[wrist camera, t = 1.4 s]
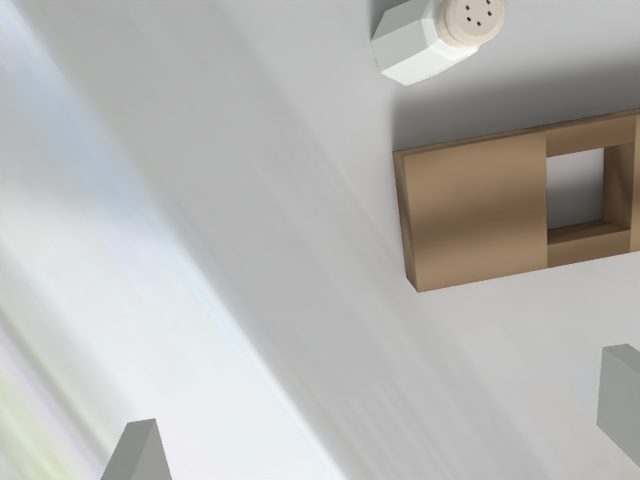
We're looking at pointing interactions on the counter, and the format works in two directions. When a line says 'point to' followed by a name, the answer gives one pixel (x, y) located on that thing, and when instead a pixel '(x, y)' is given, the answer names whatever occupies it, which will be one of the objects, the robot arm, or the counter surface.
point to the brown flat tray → (512, 202)
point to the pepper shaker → (433, 35)
